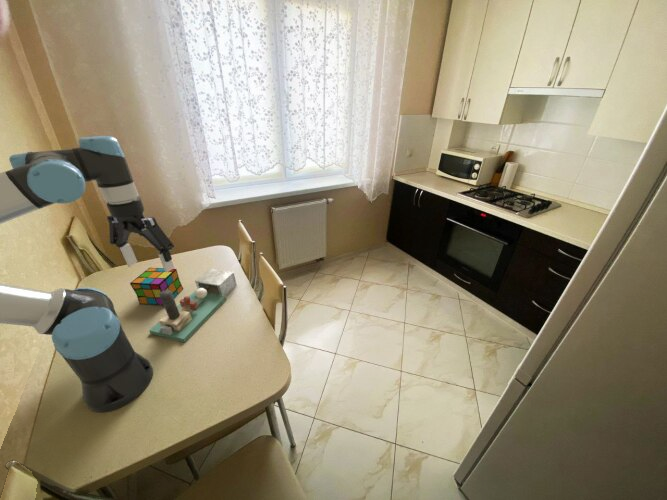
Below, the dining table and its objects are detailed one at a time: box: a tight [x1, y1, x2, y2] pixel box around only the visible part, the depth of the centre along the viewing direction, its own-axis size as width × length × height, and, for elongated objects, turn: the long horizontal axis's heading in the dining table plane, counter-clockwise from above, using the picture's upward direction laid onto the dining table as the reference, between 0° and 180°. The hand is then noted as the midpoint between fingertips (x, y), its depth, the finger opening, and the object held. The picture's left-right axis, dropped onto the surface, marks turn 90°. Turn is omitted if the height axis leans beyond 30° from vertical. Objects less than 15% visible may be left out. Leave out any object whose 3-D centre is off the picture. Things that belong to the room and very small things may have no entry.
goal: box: [194, 268, 237, 297], centre depth 109 cm, size 9×11×7 cm
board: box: [148, 290, 227, 343], centre depth 97 cm, size 22×14×4 cm, turn 164°
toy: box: [129, 267, 184, 307], centre depth 105 cm, size 11×10×10 cm
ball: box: [195, 288, 208, 299], centre depth 101 cm, size 4×4×4 cm
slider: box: [158, 290, 198, 332], centre depth 91 cm, size 11×7×13 cm, turn 164°
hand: (151, 267), depth 82 cm, fingers open, 13 cm apart
